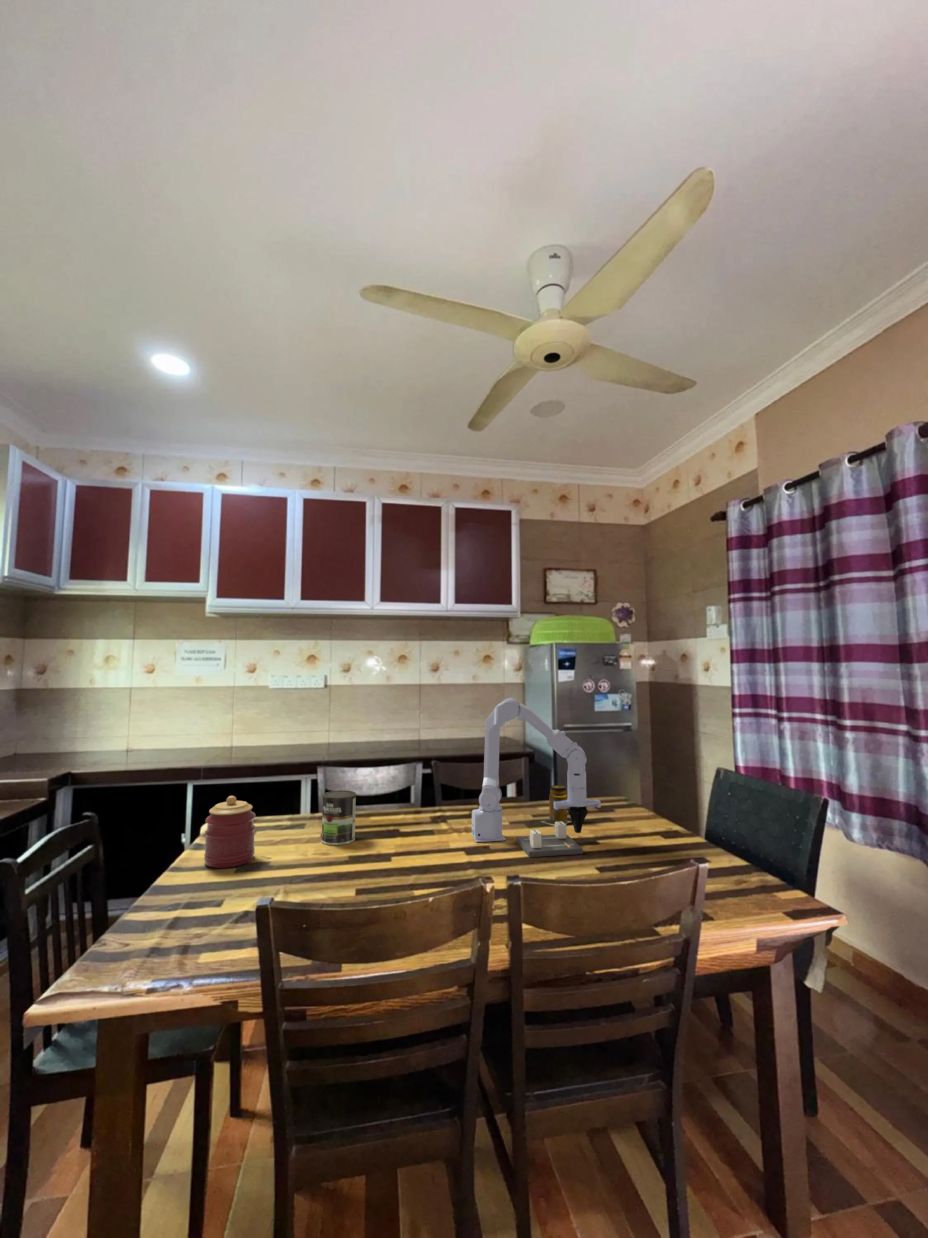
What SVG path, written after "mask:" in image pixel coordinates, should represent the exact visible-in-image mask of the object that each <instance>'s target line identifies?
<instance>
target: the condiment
mask: <svg viewBox="0 0 928 1238" xmlns="http://www.w3.org/2000/svg"><path fill="white" fill-rule="evenodd" d="M566 788H567V786H564V785H561V784H560V785H559V784H557V785H556V784H555V785H551V786H550V791H549V792H550V793H549V795H548V796H549V802H548V803H549V806H548V807H549V818H548V819H545V820H542V821H540V822H541V823H543V824H546V825H550V826H554V827H555V822H558V821H559V822H563V823H565V824H566V825H567V824H569V823H573V822H572V820H568V811H567V809H558V810H556V809H554V802H557V801H564V800H568V794H566V793H567V792H566V790H567V789H566Z"/></svg>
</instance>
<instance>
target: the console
mask: <svg viewBox="0 0 928 1238" xmlns="http://www.w3.org/2000/svg"><path fill="white" fill-rule="evenodd" d="M515 841H516V843H517V844H518V845H519V846H520V848H521V849H522V851H524V853H525V854H526V856H528V858H538V857H539V858H540V857H553V856H567V855H568V856H569V855H570V856H572V855H583V854H584V847H582V846H581V845H580V844H579V843H577V842H576V841H575V840H574V839H573V838H572V837H571V836H569V835H568V834H567V833H566V838H564V839H559V838H557V837H556V836H555V833H554V834H541V846H542V848H533V847H532V846H531V845H530V835H522V836H516V839H515Z"/></svg>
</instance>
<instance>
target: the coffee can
mask: <svg viewBox="0 0 928 1238" xmlns="http://www.w3.org/2000/svg"><path fill="white" fill-rule="evenodd" d="M321 796H322V810H321V811H322V813H321V815H322V816H321V817H322V820H321V821H322V822H321V843H322V844H324V845H327V846H342V845H343V846H344V845H348V844H350V843H354V842H355V840H356V802H357V801H356V799H357V798H356V796H357V792H355V791H351V790H332V791H331V790H330V791H328V792H327V791H326V792H324V793H322V795H321Z"/></svg>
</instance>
